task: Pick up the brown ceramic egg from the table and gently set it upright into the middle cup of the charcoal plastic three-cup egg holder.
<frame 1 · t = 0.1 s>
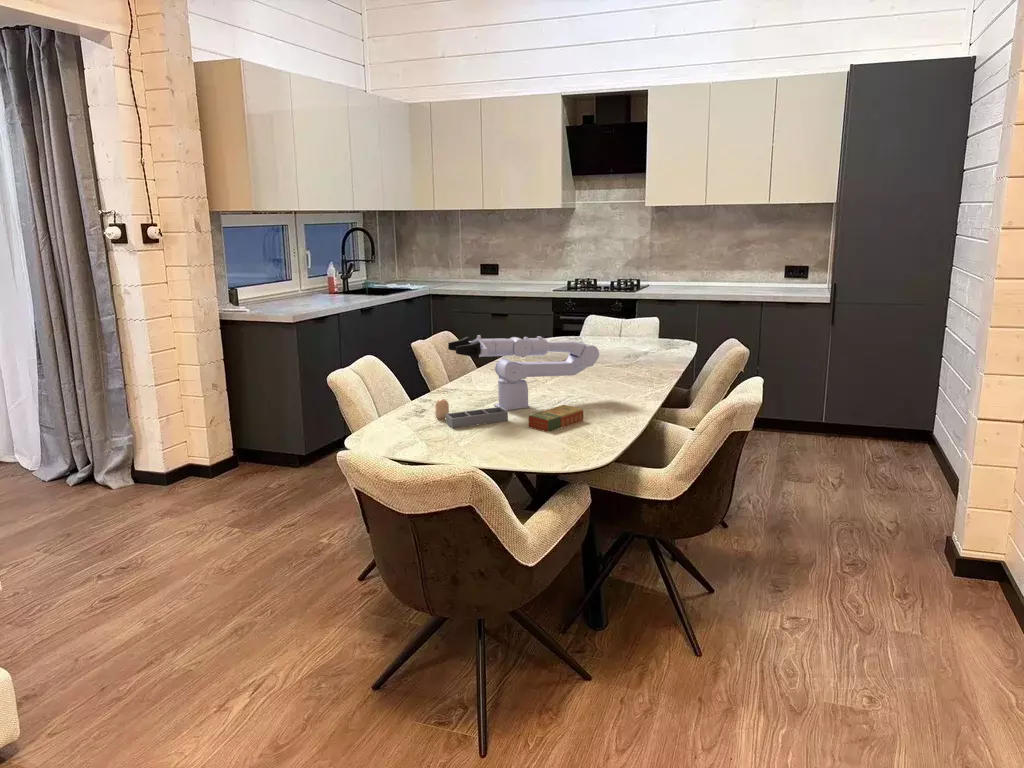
hand: (452, 348, 237), 22 cm above the table, tool horizontal, fingers open, 7 cm apart
carton: (556, 425, 228), on the table
egg holder: (476, 422, 232), on the table
egg: (442, 417, 238), on the table
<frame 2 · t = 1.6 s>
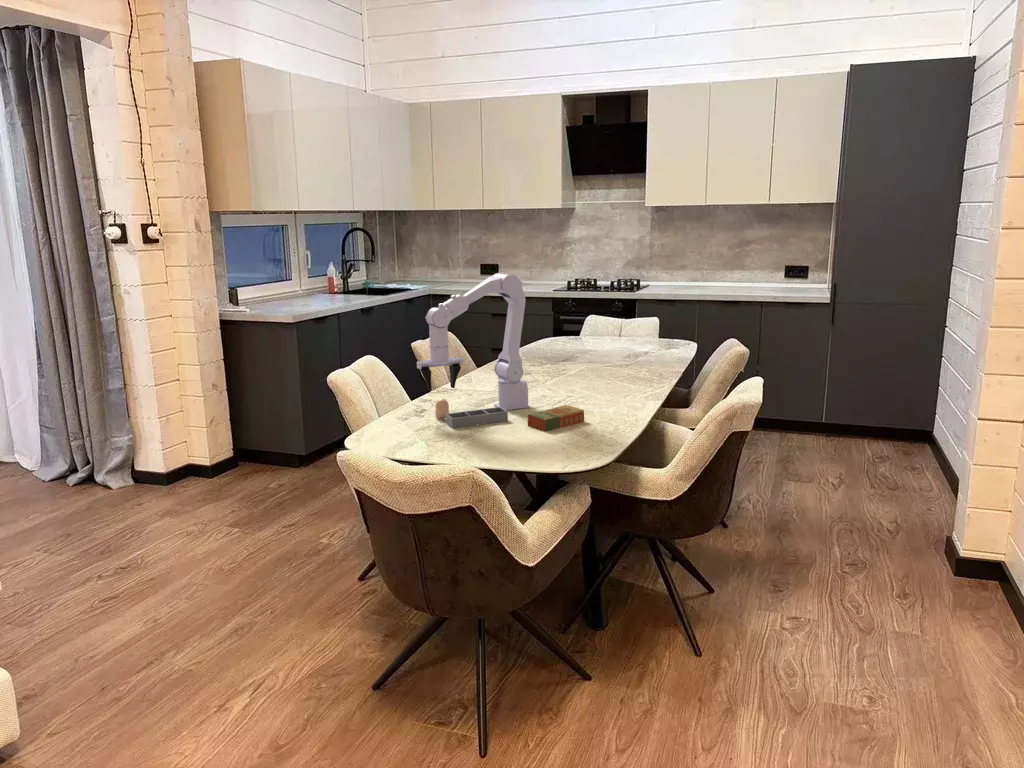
hand: (441, 388, 236), 9 cm above the table, tool pointing down, fingers open, 7 cm apart
nothing on the table moved.
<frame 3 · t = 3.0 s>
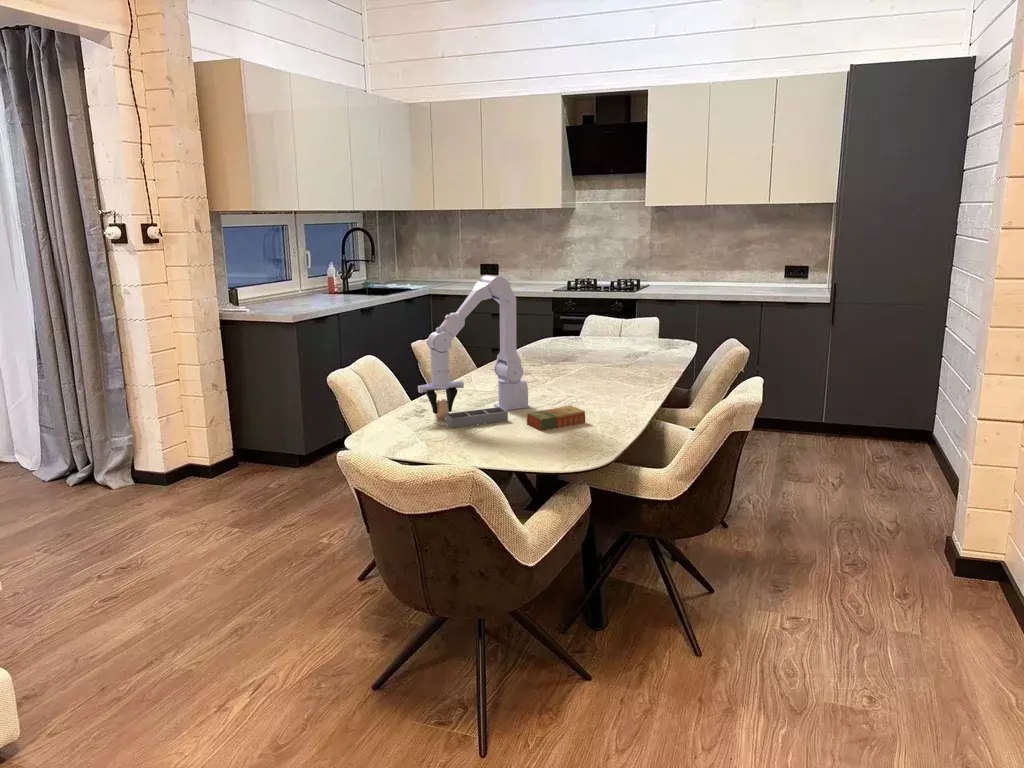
hand: (442, 412, 237), 2 cm above the table, tool pointing down, fingers closed on egg, 4 cm apart
egg: (442, 417, 238), on the table, touching gripper
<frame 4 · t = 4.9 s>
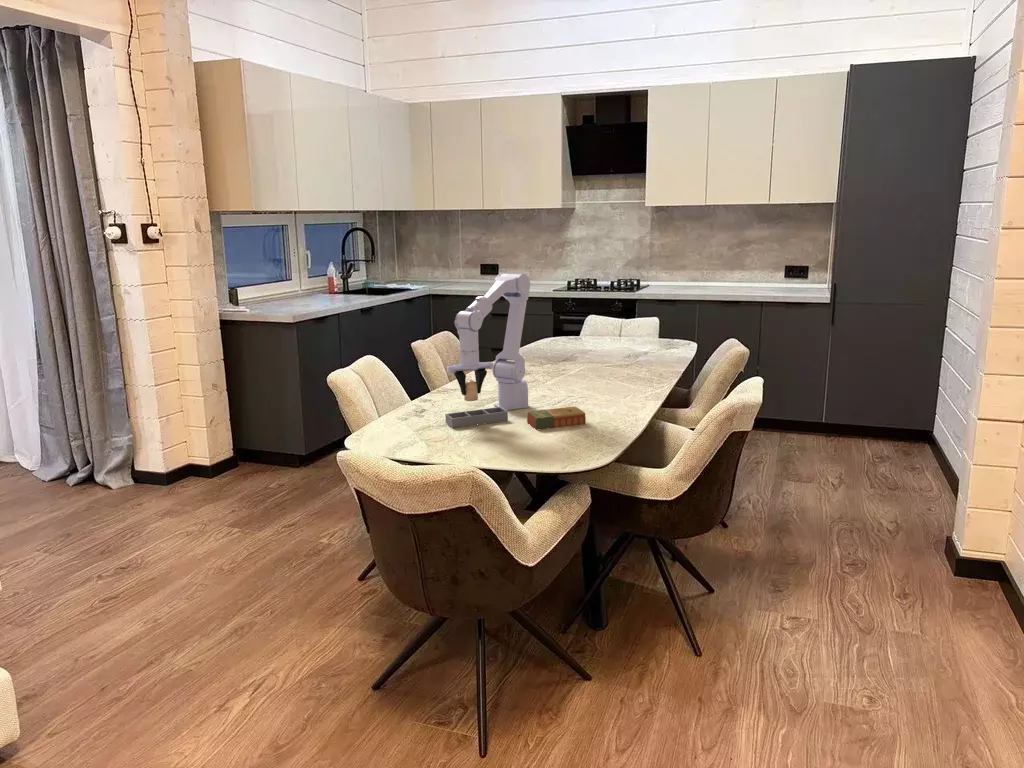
hand: (471, 393, 231), 9 cm above the table, tool pointing down, fingers closed on egg, 4 cm apart
egg: (471, 399, 231), point 7 cm above the table, touching gripper
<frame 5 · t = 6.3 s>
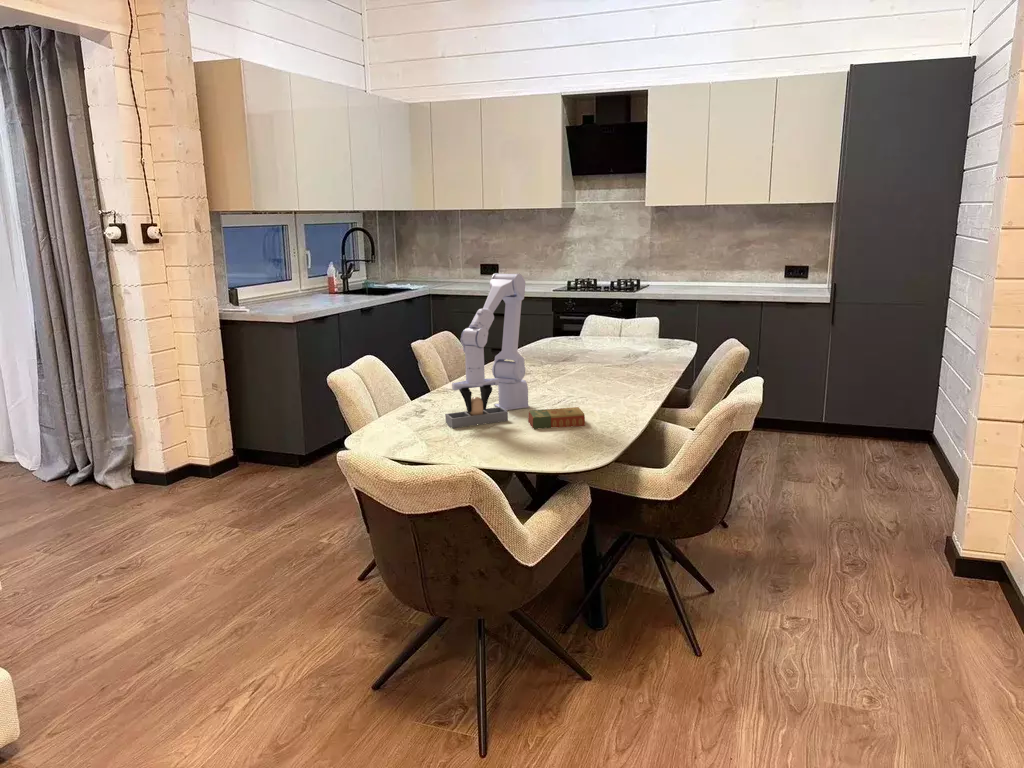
hand: (476, 410, 231), 4 cm above the table, tool pointing down, fingers closed on egg, 4 cm apart
egg: (476, 415, 231), point 2 cm above the table, touching gripper
when the fingers open (4 cm above the table, at t = 7.1 s): egg stays where it is, resting on egg holder.
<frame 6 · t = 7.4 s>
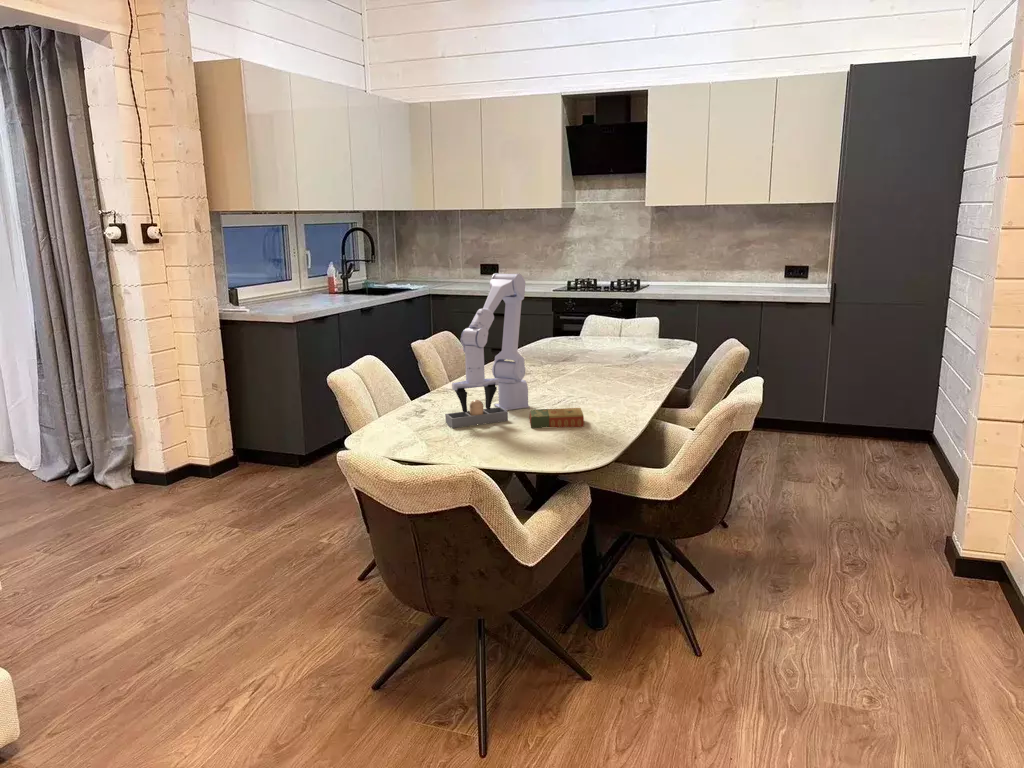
hand: (476, 410, 231), 4 cm above the table, tool pointing down, fingers open, 7 cm apart
egg: (476, 418, 232), point 1 cm above the table, touching egg holder
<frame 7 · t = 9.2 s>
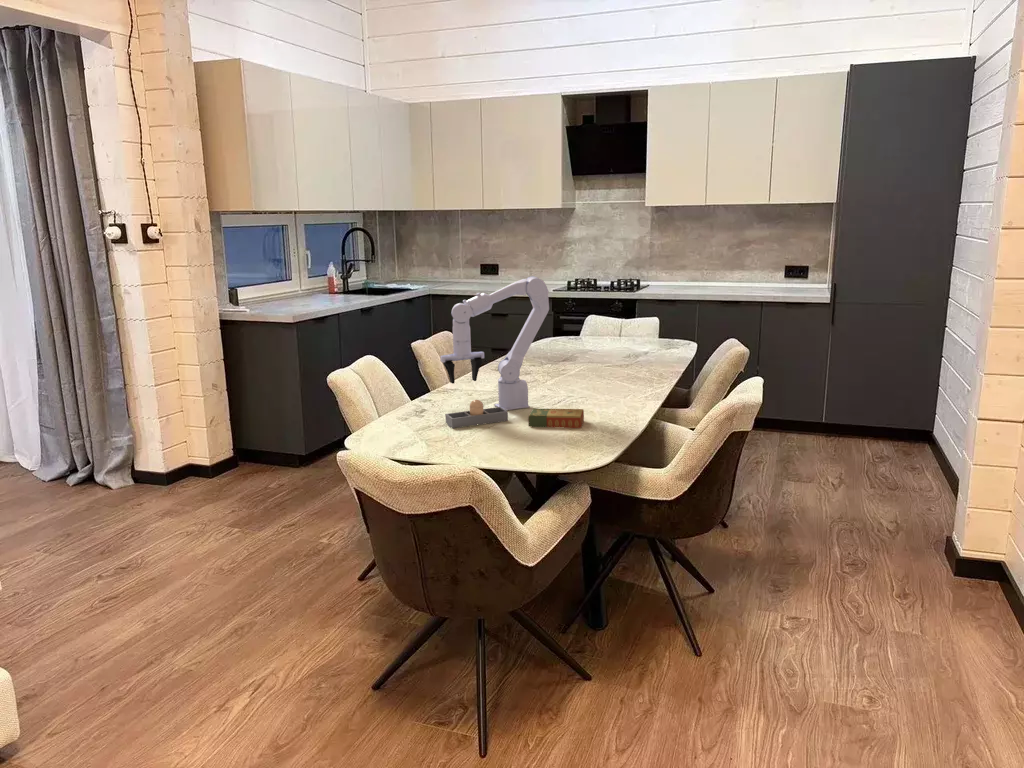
hand: (463, 381, 245), 9 cm above the table, tool pointing down, fingers open, 7 cm apart
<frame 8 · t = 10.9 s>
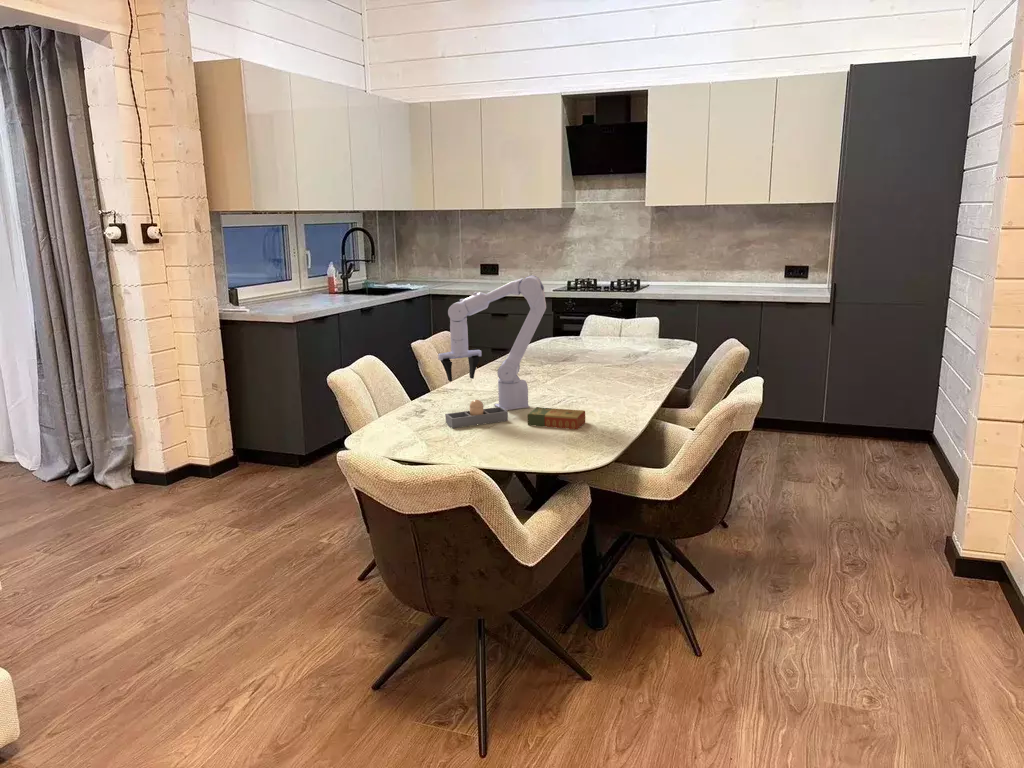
hand: (460, 379, 248), 9 cm above the table, tool pointing down, fingers open, 7 cm apart
at the end: egg 0.0 cm off-centre on the egg holder, point 1.0 cm above the egg holder's base; egg tilted 0°; the gripper is holding nothing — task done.
